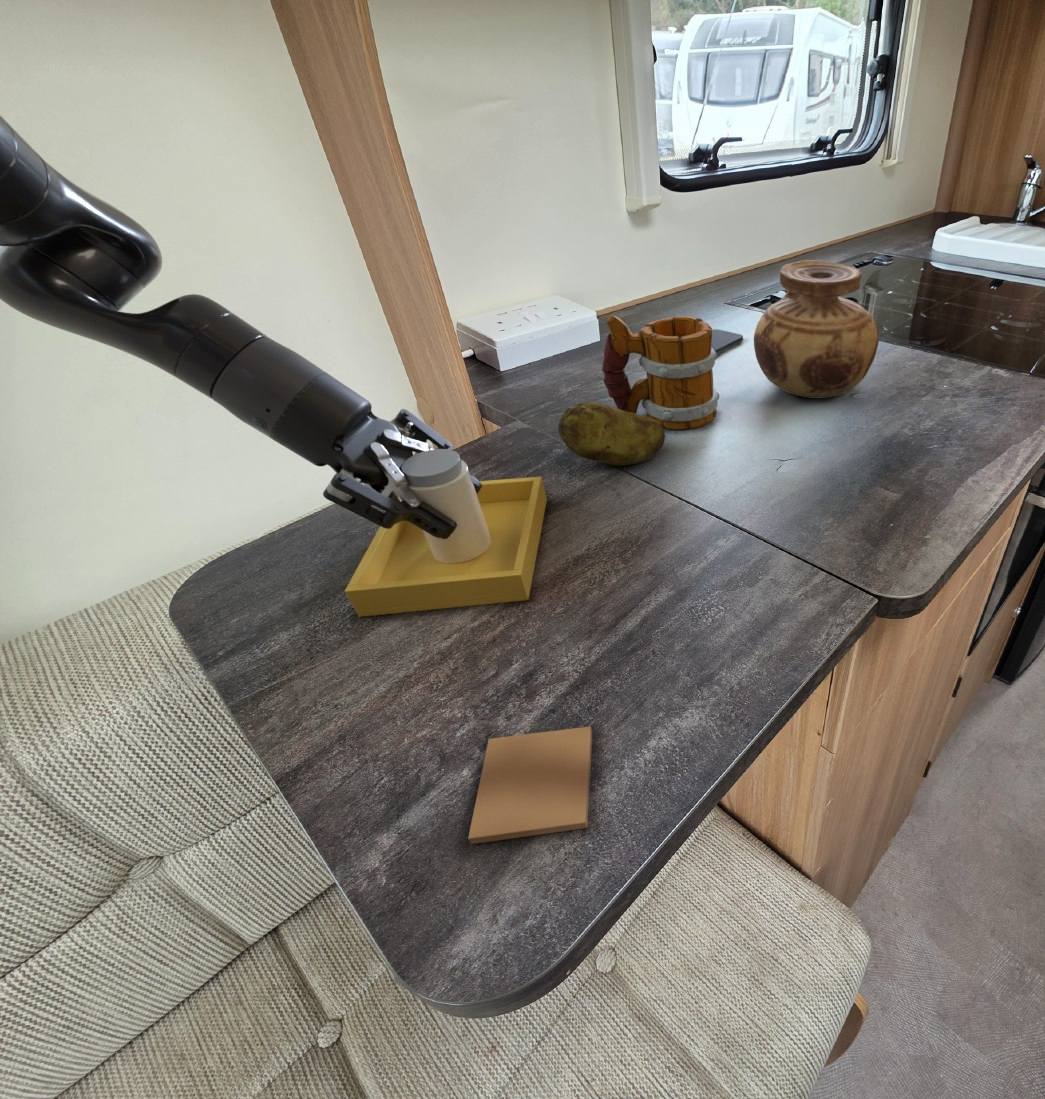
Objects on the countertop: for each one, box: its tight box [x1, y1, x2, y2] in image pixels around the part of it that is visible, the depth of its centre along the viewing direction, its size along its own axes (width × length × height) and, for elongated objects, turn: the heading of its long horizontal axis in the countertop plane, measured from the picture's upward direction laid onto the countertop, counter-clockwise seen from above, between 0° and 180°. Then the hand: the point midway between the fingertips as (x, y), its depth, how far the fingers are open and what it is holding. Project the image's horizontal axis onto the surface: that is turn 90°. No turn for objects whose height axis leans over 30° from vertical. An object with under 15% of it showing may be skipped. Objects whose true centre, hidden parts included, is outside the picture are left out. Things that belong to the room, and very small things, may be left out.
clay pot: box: [753, 259, 880, 399], centre depth 91 cm, size 19×19×20 cm
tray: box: [344, 476, 548, 618], centre depth 63 cm, size 18×16×3 cm
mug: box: [601, 314, 720, 431], centre depth 84 cm, size 11×16×15 cm, turn 102°
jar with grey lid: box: [401, 448, 491, 564], centre depth 60 cm, size 6×6×10 cm
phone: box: [712, 328, 744, 354], centre depth 110 cm, size 7×1×15 cm
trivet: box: [467, 726, 593, 845], centre depth 42 cm, size 8×8×1 cm
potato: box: [557, 402, 666, 467], centre depth 76 cm, size 8×13×8 cm, turn 92°
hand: (465, 511), depth 60 cm, fingers open, 6 cm apart
